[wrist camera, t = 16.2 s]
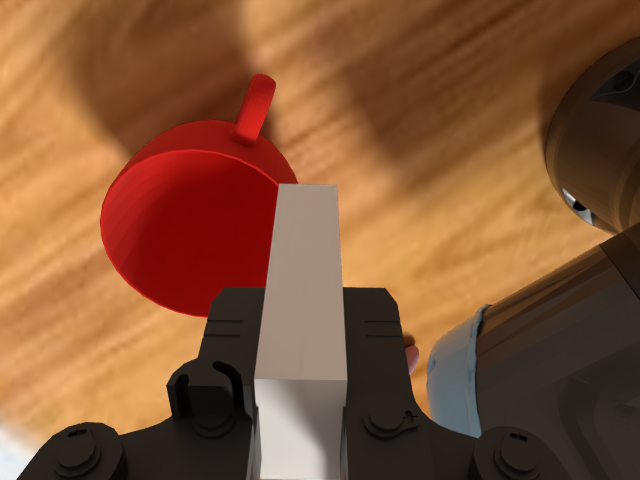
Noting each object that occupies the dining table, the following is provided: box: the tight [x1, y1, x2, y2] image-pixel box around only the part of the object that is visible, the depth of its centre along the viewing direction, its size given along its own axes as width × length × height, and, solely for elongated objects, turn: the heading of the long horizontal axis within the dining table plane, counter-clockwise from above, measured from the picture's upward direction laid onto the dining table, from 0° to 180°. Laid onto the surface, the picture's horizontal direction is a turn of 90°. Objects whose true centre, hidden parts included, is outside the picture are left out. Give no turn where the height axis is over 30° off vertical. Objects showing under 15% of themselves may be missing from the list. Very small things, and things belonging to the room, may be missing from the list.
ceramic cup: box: [100, 74, 298, 318], centre depth 38 cm, size 13×17×10 cm
